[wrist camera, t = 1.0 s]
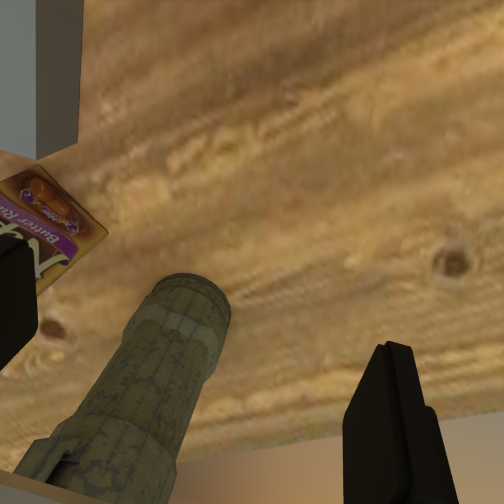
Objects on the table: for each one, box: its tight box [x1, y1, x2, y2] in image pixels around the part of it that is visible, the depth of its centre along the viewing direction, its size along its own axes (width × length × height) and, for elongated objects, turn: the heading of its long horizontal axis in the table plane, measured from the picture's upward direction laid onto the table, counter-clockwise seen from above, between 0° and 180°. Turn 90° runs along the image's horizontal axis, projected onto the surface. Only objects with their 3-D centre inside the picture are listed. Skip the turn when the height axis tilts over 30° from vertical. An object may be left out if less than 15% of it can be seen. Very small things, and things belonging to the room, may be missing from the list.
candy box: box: [0, 165, 107, 297], centre depth 34 cm, size 9×4×15 cm, turn 42°
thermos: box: [13, 274, 231, 504], centre depth 29 cm, size 9×12×35 cm
